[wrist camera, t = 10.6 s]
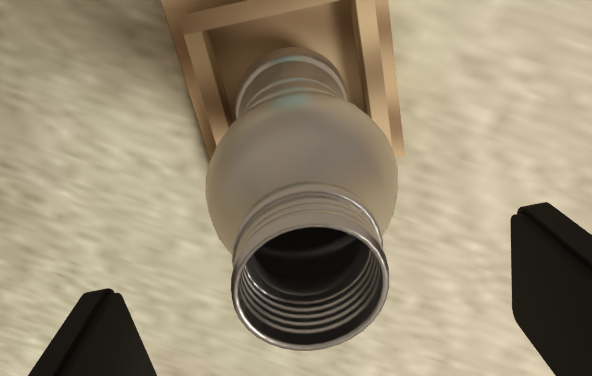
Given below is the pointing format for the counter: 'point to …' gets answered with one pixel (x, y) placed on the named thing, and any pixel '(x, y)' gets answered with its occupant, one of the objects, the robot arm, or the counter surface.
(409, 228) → the counter surface
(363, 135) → the plastic bottle
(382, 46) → the oak caddy
